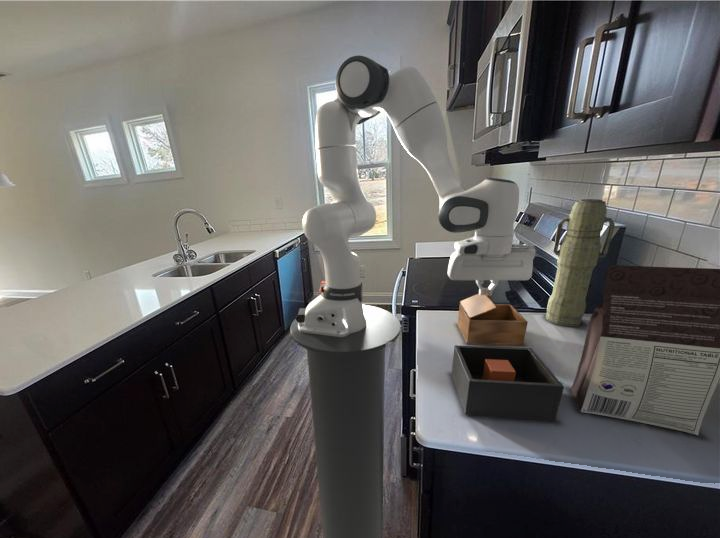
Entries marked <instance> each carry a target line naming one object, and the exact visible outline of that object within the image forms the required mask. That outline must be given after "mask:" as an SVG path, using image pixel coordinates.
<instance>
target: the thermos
mask: <svg viewBox="0 0 720 538" xmlns="http://www.w3.org/2000/svg"><path fill="white" fill-rule="evenodd" d="M607 213H608V209H607V203H606V201H605V200H603V199H601V198H600V199H598V198H588V199H587V198H586V199H585V198H584V199H579V200H577V201H575V203H574V204H573V206H572V208H571V211H570V213H569V216H567V217H565V218H562V220H560V221H559V222H558V223H557V227H556V233H555V239H554V244H553V248H552V252H553V253H554V255H555V256H557V259H556V264H557V269H556V273H555V279H554V283H553V288H552V293H551V294H550V295H549V298H548V301H547V306H546V314H545V319H546V321H548V322H550V323H551V324H555V325H557V326H563V327H579V326H580V325H581V324H582V320H583V318H584V315H585V312H586V307H587V301H586V298H587V294H588V291H589V286H590V283H591V278H592V274H593V270H594V269H595V268H596V266H597V264H598V260H600V258H601V259H602V258H606V256H607V255H608V251H609V248H610V244H611V241H612V236H613V233H614V229H615V225H616V224H615V222H614V220H613V219H612V218H610V217H607ZM565 222H567V226H566V233H565V235H564V238H563V239H562V242H561V243H560V239H561V235H562V230H563V225H564V224H565ZM607 223H608V228H607V232H606V235H605V239H604V243H603V247H602V245H601V237H602V235H601V233H602V231H603V229H604V225H605V224H607ZM559 244H560V245H559ZM601 248H602V251H601Z"/></svg>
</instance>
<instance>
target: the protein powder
mask: <svg viewBox="0 0 720 538" xmlns="http://www.w3.org/2000/svg"><path fill="white" fill-rule="evenodd" d="M719 381H720V268H706V267H705V268H704V267H677V266H674V267H671V266H646V265H645V266H643V265H624V264H623V265H621V264H615V265H611V266H609V268H608V270H607V276H606V280H605V285H604V289H603V295H602V297H601V301H600V302H599V304H598V305H596V307H594V310H593V313H592V314H591V316H590V319H589V322H588V327H587V331H586V336H585V341H584V345H583V349H582V353H581V357H580V361H579V364H578V367H577V371H576V374H575V377H574V380H573V383H572V385H571V387H570V389H569V390H570V391H571V394H572V395H573V398H574V400H575V403H576V405H577V408H578V410H579V413H585V414H591V415H592V414H593V415H599V416H603V417H604V416H605V417H610V418H616V419H621V420H627V421H633V422H637V423H641V424H645V425H647V424H648V425H652V426H657V427H661V428H667V429H671V430H676V431H680V432H685V433H688V434H691V435H694V436H695V435H696V436H700V429H701V426H702V422H703V420H704V417H705V414H706V412H707V410H708V406H709V404H710V402H711V400H712V397H713V395H714V392H715V391H716V387H717V385H718V383H719Z"/></svg>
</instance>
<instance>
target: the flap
mask: <svg viewBox="0 0 720 538" xmlns="http://www.w3.org/2000/svg"><path fill="white" fill-rule="evenodd" d="M459 304H462V306H463V308H464V309H465V311H466V313H467V314H468V316H469V318H470V319H471V318H474V317H477V316H479V315H482V314H484V313H487V312H489V311H492V310H494V309H497V307H496V306H495V305H494V304H495V303H493V301H492V300H491V298H489V296H487V295H479V293H477V294H474V295H472V296H470V297H467V298H465V299H462V300H460V301H459Z"/></svg>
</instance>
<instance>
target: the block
mask: <svg viewBox="0 0 720 538" xmlns="http://www.w3.org/2000/svg"><path fill="white" fill-rule="evenodd" d="M515 375H516V371H515V370H514V368H513V367H512V366H511V364H510V363H509V361H508V360H493V359H485V363H484V370H483V377H482V380H497V381H514V380H515Z"/></svg>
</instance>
